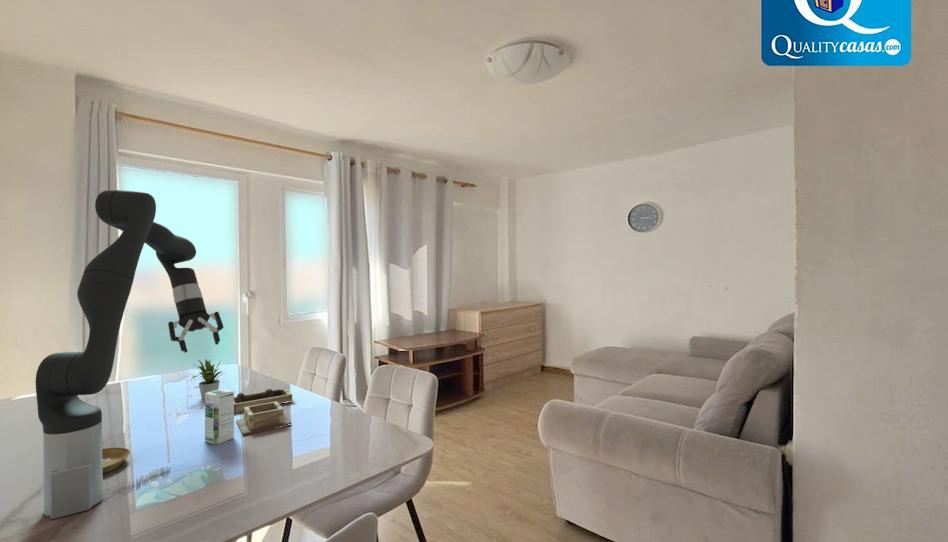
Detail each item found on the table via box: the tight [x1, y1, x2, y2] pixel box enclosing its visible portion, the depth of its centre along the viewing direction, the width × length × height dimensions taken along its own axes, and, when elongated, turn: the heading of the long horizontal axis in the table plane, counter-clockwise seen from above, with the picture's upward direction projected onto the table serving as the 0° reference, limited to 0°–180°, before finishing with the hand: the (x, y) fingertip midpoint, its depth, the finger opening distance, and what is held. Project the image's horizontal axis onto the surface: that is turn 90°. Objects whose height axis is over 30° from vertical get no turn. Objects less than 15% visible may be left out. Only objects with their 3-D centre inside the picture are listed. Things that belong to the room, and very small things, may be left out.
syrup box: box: [204, 388, 235, 446], centre depth 125 cm, size 6×6×14 cm
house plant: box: [188, 358, 229, 401], centre depth 165 cm, size 14×14×16 cm
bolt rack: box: [234, 388, 293, 414], centre depth 157 cm, size 10×20×3 cm, turn 127°
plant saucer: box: [102, 447, 131, 474], centre depth 107 cm, size 15×15×3 cm
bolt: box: [236, 388, 283, 403], centre depth 158 cm, size 6×5×15 cm
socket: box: [236, 401, 293, 437], centre depth 137 cm, size 14×14×5 cm
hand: (201, 348), depth 133 cm, fingers open, 8 cm apart
